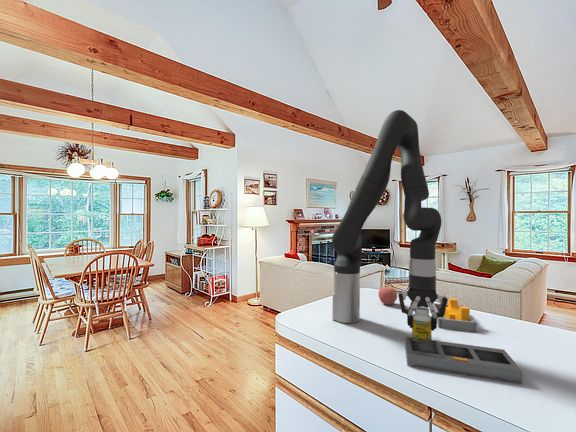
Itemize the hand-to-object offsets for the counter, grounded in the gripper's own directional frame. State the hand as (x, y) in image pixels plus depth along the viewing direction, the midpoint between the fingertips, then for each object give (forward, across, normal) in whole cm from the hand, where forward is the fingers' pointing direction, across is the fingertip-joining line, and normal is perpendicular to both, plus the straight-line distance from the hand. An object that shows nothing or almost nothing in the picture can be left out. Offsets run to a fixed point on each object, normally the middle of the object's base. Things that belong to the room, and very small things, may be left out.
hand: (421, 328), depth 89 cm
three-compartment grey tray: (+3, +7, -12) cm, 15 cm away
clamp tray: (+3, +12, +22) cm, 25 cm away
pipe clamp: (+4, +13, +22) cm, 26 cm away
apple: (+4, -10, +34) cm, 36 cm away
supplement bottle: (+4, 0, 0) cm, 4 cm away
